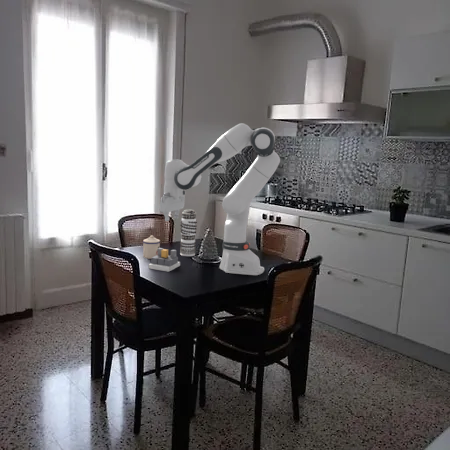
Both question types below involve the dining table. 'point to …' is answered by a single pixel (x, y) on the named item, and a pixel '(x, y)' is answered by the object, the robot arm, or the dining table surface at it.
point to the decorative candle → (188, 233)
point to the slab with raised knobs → (164, 261)
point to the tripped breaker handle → (164, 253)
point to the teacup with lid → (150, 247)
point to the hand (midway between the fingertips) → (171, 219)
